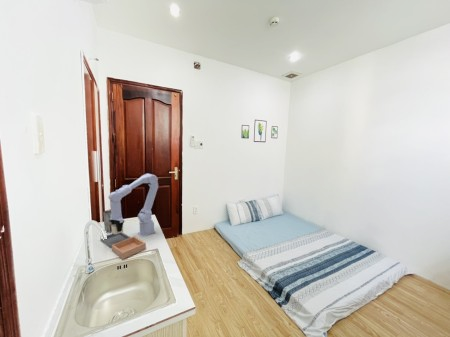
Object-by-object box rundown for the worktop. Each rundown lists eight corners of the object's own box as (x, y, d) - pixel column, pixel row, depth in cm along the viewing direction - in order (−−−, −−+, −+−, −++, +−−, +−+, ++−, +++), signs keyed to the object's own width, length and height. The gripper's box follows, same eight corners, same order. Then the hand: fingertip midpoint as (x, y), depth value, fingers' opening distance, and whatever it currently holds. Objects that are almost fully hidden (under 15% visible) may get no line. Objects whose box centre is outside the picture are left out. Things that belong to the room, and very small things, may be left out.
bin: (134, 241, 128) (134, 236, 127) (145, 248, 119) (145, 242, 119) (112, 251, 117) (111, 245, 116) (123, 259, 108) (122, 253, 108)
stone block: (119, 229, 129) (119, 222, 128) (123, 231, 126) (122, 224, 125) (111, 232, 125) (111, 225, 124) (115, 234, 122) (114, 227, 121)
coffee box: (116, 227, 149) (114, 207, 147) (121, 228, 147) (120, 208, 145) (104, 232, 141) (102, 211, 139) (110, 233, 139) (108, 212, 136)
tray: (120, 234, 138) (119, 230, 138) (130, 240, 129) (130, 237, 129) (100, 241, 128) (100, 237, 128) (110, 249, 119) (110, 245, 119)
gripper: (104, 209, 124) (106, 229, 126) (114, 214, 116) (116, 235, 118) (116, 206, 130) (117, 225, 132) (126, 211, 121) (127, 231, 123)
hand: (117, 230), depth 125 cm, fingers closed on stone block, 5 cm apart
